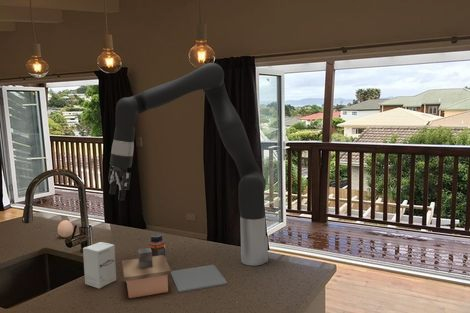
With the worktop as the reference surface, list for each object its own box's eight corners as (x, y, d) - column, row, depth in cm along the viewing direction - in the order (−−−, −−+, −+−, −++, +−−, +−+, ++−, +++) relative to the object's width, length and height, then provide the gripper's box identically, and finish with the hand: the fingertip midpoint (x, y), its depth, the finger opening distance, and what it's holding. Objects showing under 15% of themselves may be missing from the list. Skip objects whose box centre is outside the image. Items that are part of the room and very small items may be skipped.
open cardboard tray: (162, 276, 135) (161, 259, 134) (168, 291, 124) (167, 273, 123) (126, 282, 131) (125, 264, 131) (128, 298, 120) (127, 279, 119)
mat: (214, 266, 143) (214, 264, 143) (227, 284, 128) (227, 282, 128) (170, 272, 138) (170, 271, 138) (178, 292, 123) (178, 291, 123)
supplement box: (99, 289, 127) (96, 251, 125) (84, 284, 131) (81, 247, 129) (117, 280, 133) (115, 244, 131) (102, 275, 137) (100, 240, 135)
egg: (72, 238, 177) (71, 221, 176) (56, 240, 176) (55, 222, 175) (74, 234, 183) (73, 217, 182) (59, 235, 182) (58, 218, 181)
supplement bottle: (169, 263, 147) (168, 233, 146) (159, 269, 142) (158, 238, 140) (156, 260, 150) (154, 231, 148) (146, 266, 144) (144, 236, 143)
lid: (164, 258, 136) (163, 240, 135) (171, 274, 123) (170, 255, 122) (122, 264, 131) (121, 246, 131) (124, 281, 118) (123, 261, 117)
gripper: (140, 157, 138) (134, 202, 139) (124, 150, 149) (119, 192, 150) (119, 156, 133) (113, 202, 135) (104, 149, 144) (99, 192, 146)
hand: (116, 197), depth 143 cm, fingers open, 8 cm apart
